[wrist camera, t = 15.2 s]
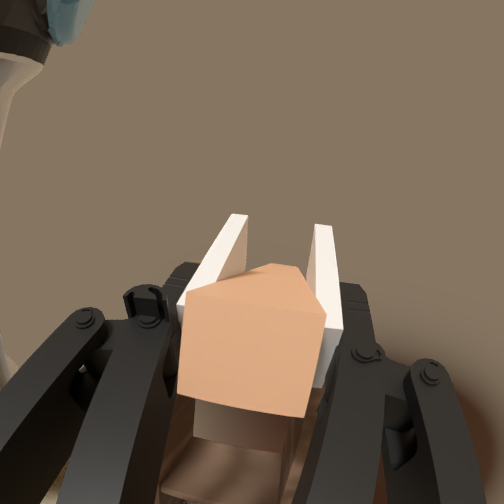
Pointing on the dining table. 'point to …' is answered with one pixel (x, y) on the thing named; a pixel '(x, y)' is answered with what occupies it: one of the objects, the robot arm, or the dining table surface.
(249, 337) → the batten
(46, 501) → the dining table surface
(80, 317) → the robot arm
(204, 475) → the rack
